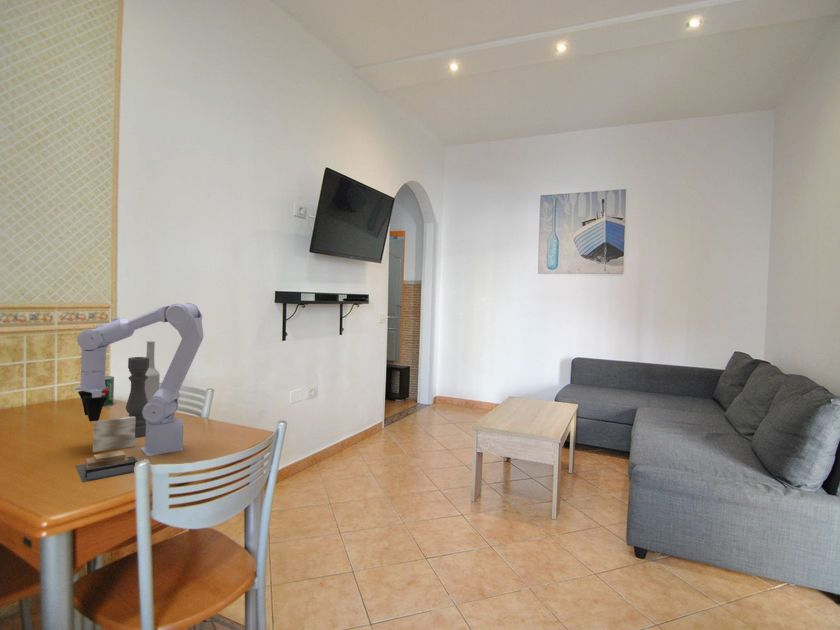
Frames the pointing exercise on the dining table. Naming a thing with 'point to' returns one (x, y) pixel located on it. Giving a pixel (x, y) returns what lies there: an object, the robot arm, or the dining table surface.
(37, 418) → the dining table surface
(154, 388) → the bottle
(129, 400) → the candle holder
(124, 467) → the rack
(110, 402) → the canned tomato
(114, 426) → the beige flat block
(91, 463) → the offcut stack
